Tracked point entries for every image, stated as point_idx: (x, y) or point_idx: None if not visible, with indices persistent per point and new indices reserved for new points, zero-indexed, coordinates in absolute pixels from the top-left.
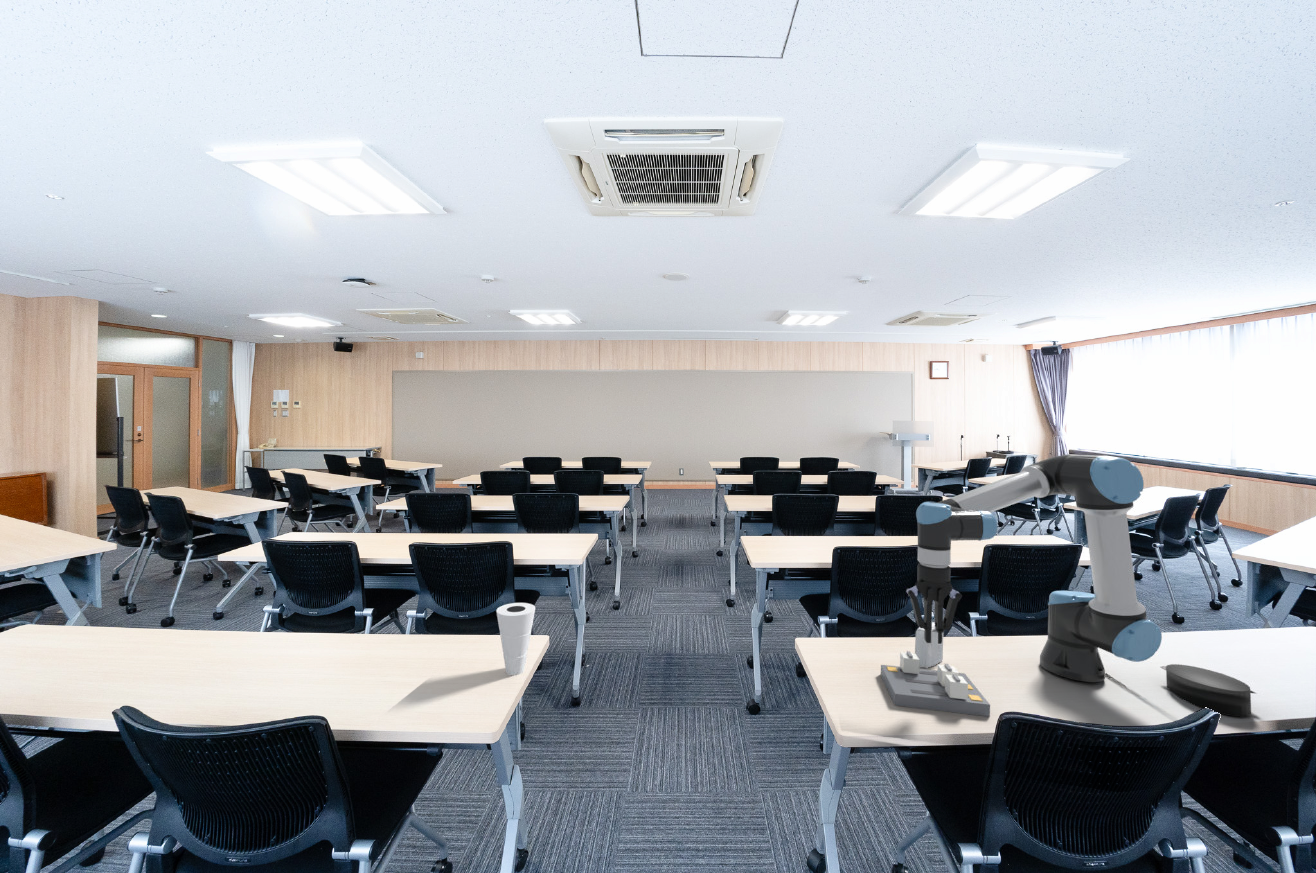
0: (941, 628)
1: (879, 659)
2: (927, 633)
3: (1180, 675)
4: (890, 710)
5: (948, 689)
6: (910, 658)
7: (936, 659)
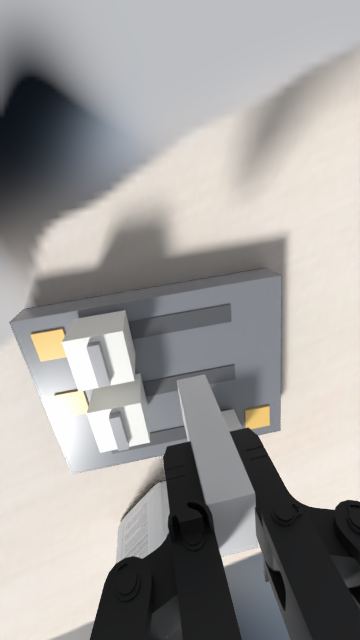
0: (185, 552)
1: None
2: (270, 479)
3: None
4: (283, 232)
5: (128, 331)
6: None
7: (133, 519)
